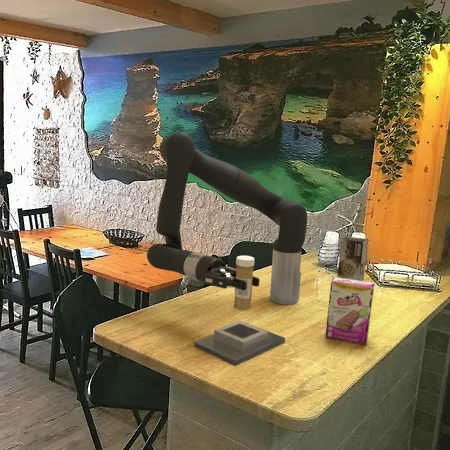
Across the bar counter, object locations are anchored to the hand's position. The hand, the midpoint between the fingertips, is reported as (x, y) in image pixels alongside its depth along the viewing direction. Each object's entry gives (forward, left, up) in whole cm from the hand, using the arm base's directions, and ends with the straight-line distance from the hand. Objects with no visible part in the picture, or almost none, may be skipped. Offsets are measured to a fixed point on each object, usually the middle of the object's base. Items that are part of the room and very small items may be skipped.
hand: (252, 284), depth 123 cm
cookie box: (-79, -14, -17) cm, 82 cm away
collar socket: (0, -3, -17) cm, 17 cm away
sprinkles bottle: (0, -3, -7) cm, 8 cm away
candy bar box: (-25, +14, -17) cm, 34 cm away
